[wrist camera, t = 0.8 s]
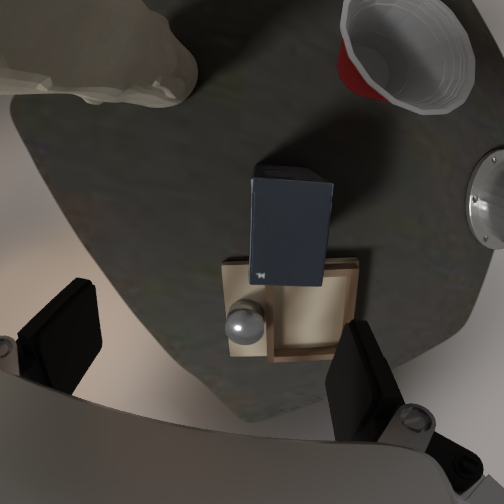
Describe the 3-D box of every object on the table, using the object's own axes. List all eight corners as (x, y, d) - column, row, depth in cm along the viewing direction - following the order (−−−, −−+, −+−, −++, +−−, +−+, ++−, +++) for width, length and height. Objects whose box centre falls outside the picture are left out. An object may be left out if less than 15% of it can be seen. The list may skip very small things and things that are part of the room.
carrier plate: (356, 257, 33) (367, 272, 30) (346, 346, 38) (353, 366, 34) (222, 261, 34) (217, 277, 30) (231, 351, 38) (228, 372, 34)
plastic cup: (424, 54, 25) (490, 30, 14) (392, 138, 29) (456, 145, 17) (333, 4, 24) (367, -50, 13) (295, 90, 27) (316, 64, 16)
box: (305, 242, 33) (322, 289, 23) (250, 239, 33) (245, 286, 23) (311, 166, 30) (335, 182, 20) (253, 162, 30) (249, 176, 20)
